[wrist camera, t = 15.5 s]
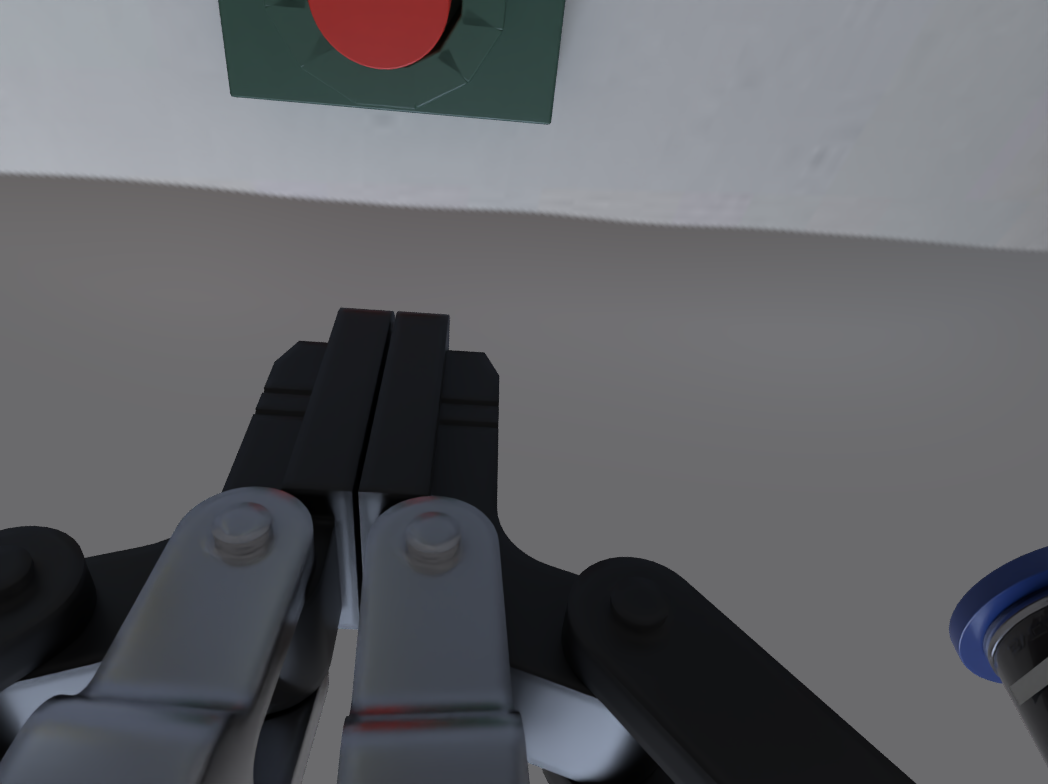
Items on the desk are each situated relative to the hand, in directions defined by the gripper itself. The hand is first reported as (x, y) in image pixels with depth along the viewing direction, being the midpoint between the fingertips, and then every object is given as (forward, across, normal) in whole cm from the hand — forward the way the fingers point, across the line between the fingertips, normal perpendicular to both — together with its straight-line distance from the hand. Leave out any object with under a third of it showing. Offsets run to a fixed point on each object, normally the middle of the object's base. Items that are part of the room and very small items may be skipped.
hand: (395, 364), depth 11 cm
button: (+14, +2, -2) cm, 15 cm away
